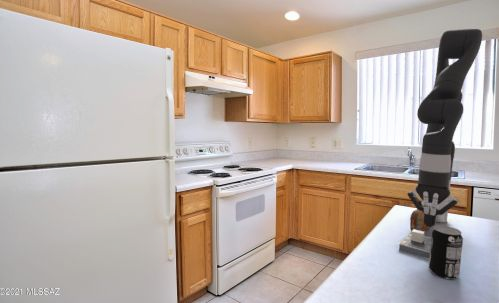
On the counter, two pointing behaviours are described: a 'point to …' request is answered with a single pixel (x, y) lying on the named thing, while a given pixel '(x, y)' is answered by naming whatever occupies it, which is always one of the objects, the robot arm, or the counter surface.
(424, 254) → the switch panel
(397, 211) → the counter surface
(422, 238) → the tab
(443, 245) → the beverage can
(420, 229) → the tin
